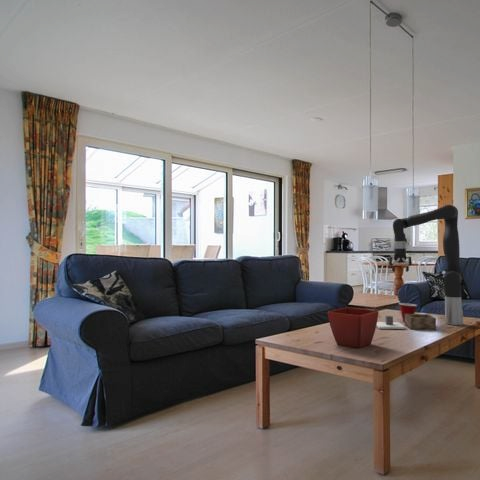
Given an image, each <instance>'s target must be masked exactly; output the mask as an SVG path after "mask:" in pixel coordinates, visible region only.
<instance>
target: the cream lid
mask: <svg viewBox="0 0 480 480" xmlns="http://www.w3.org/2000/svg"><path fill="white" fill-rule="evenodd" d="M384 317H385V321H377V325H376V328H378V329H379V330H380V329H382V330H406V326H405V325H403V324H402V323H401V322H397V321H394V316H393V315H385V316H384Z"/></svg>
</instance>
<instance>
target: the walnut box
mask: <svg viewBox="0 0 480 480" xmlns="http://www.w3.org/2000/svg"><path fill="white" fill-rule="evenodd" d="M404 326H405V327H407V328H408V329H410V330H414V331H418V330H419V331H436V330H437V318H436V317H434V316H433V315H430V314H429V313H427V314H425V313H414V314H405V322H404Z"/></svg>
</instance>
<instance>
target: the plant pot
mask: <svg viewBox="0 0 480 480" xmlns="http://www.w3.org/2000/svg"><path fill="white" fill-rule="evenodd" d="M327 317H328V322H329V325H330V329H331V332H332V336H333V338H334V341H335V343H336V344H337V345H340V346H344V347H345V346H346V347H350V348H357V349H359V348H363V347H366V346H368V345H371V344H372V341H373V340H374V339H373V338H374V335H375V333H376V328H377V326H376V325H377V322H378V319H379V310H375V309H365V308H355V307H354V308H353V307H343V308H338V309H333V310H329V311H327Z"/></svg>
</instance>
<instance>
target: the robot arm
mask: <svg viewBox="0 0 480 480" xmlns="http://www.w3.org/2000/svg"><path fill="white" fill-rule="evenodd" d="M458 217H459V210H458V208H457V206H455V205H452V204H445V205H442V206H441V207H438V208H436V209H433V210H430V211H426V212H422V213H418V214H412V215H409V216H408V217H404V218H396V219H394V220H393V222H392V230H393V233H394V235H393V236H394V239H393V240H394V243H393V256H388V257H389V258H388V259H389V260H388V266H391V270H392V272H393V273H395V272H396V270H395V269H396V267H395V265H396V264H398V263H399V264H404V265H405V272H407V273H408V272H409V271H410V267H411V266H412V256H410V255H409V256H407V245H406V233H405V232H404V229H408V228H410V227H415V226H419V225H424V224H426V223H428V222H433V221H436V220H443V221H444V233H443V237H442V245H443V246H442V248H443V254H444V259H445V262H446V272H445V274H444V276H443V291H444V315H445V317H444V318H445V319H444V323H445V325H449V324H450V326H464V312H463V311H464V310H463V308H462V292H461V291H462V289H461V282H462V281H463V280H462V278H463V277H462V273H461V267H460V254H461V252H460V237H459V235H460V234H459V231H458V229H459V228H458V219H459V218H458ZM393 260H394V261H393ZM407 260H408V262H407Z"/></svg>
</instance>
